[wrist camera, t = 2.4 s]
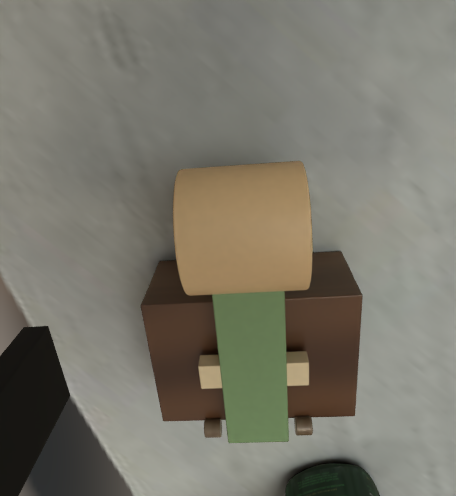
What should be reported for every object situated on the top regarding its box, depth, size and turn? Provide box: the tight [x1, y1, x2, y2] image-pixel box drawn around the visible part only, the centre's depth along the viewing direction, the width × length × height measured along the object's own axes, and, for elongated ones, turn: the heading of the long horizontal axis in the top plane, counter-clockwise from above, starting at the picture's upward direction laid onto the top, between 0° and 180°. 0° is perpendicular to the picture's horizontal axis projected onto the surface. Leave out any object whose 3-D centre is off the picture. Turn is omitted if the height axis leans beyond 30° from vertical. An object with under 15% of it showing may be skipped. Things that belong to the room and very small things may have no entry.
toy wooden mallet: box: [173, 161, 312, 443], centre depth 22 cm, size 16×6×6 cm, turn 5°
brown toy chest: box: [141, 251, 362, 438], centre depth 27 cm, size 10×12×6 cm
